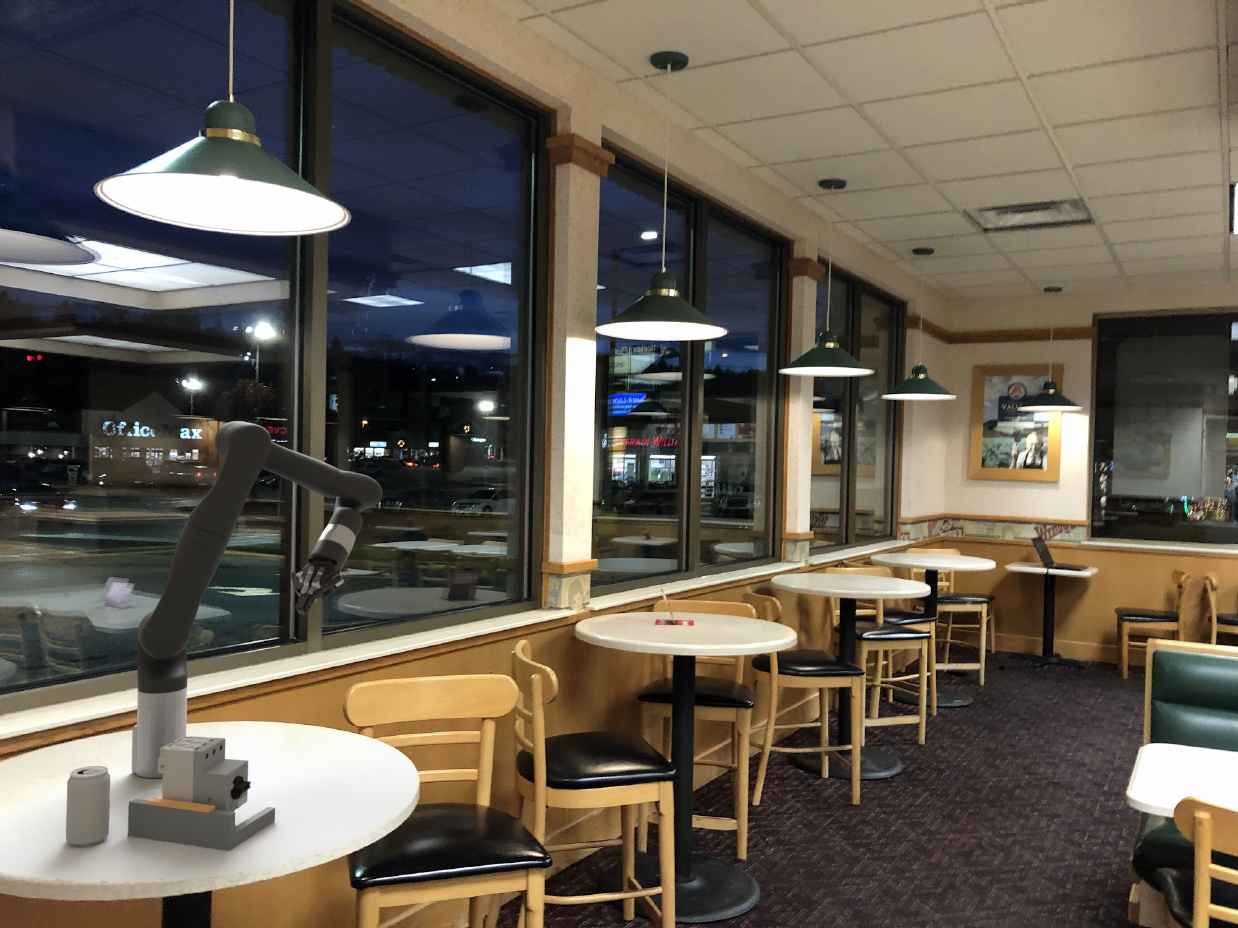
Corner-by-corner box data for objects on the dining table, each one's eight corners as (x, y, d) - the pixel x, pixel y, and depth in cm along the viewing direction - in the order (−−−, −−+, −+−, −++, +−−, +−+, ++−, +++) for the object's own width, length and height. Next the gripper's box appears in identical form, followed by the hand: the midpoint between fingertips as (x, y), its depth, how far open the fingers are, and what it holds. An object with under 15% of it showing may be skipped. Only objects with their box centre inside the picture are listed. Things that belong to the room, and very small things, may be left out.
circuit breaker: (234, 840, 160) (236, 753, 160) (156, 834, 162) (158, 748, 162) (255, 822, 168) (257, 740, 168) (180, 817, 169) (182, 735, 169)
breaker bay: (127, 835, 161) (128, 798, 161) (179, 808, 173) (180, 772, 173) (228, 850, 156) (229, 811, 156) (274, 821, 169) (275, 785, 169)
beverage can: (77, 832, 161) (78, 764, 161) (115, 832, 162) (117, 764, 162) (58, 848, 155) (59, 777, 155) (98, 848, 156) (99, 777, 155)
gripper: (300, 536, 209) (265, 599, 197) (353, 539, 205) (322, 603, 194) (312, 557, 214) (280, 619, 202) (365, 561, 211) (334, 624, 199)
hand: (300, 611), depth 198 cm, fingers closed
